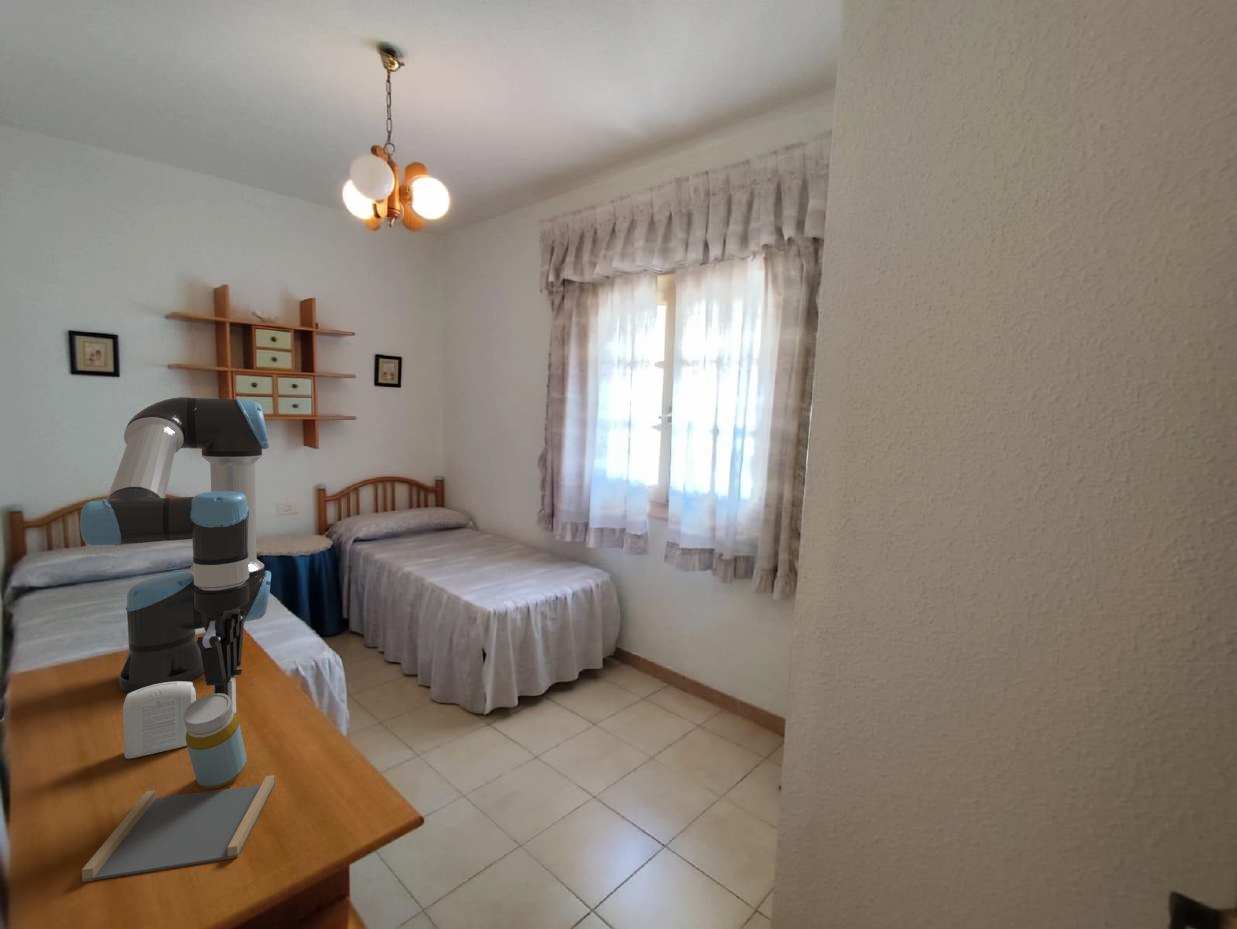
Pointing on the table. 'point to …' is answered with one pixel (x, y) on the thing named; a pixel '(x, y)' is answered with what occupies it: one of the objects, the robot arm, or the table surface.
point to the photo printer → (156, 718)
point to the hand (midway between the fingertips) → (225, 715)
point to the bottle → (214, 741)
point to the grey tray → (180, 831)
